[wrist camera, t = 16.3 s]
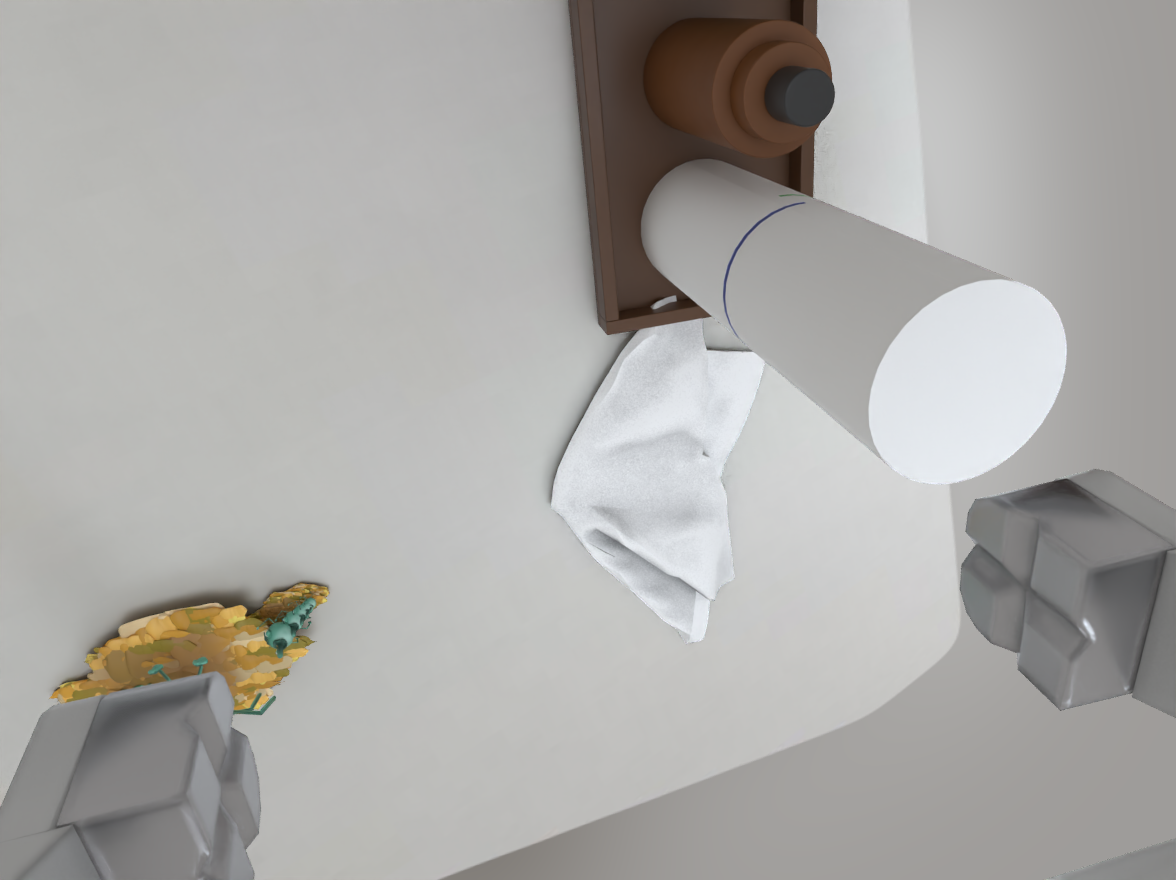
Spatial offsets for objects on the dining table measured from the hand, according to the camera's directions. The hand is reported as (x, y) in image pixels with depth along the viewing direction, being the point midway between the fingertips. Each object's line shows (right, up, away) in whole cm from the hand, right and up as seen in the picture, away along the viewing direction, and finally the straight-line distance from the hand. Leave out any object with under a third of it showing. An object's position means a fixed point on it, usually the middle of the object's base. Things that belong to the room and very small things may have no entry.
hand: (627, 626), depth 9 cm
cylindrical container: (+6, +14, +41) cm, 44 cm away
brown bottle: (+5, +21, +38) cm, 44 cm away
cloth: (+4, -1, +48) cm, 49 cm away
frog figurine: (-24, -12, +46) cm, 54 cm away
